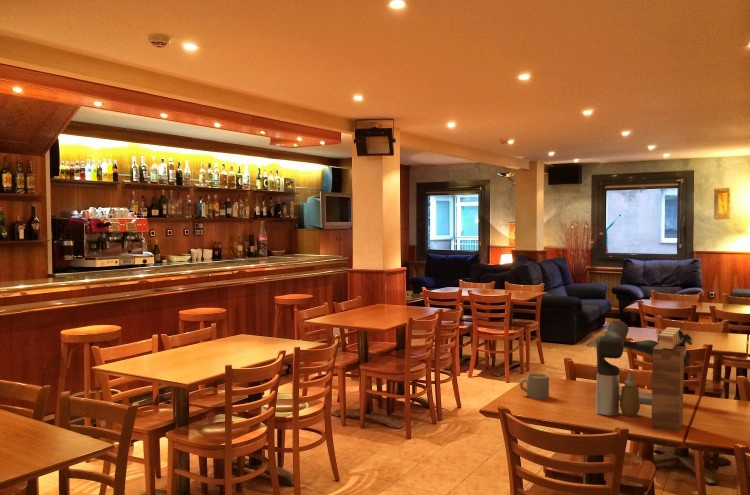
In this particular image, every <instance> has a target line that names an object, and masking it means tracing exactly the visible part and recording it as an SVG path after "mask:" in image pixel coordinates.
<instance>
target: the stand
mask: <svg viewBox="0 0 750 495" xmlns="http://www.w3.org/2000/svg"><path fill="white" fill-rule="evenodd" d="M684 371H685V369H684V346H675V347H674V348H673V349H672V350H668V349H667V348H659V344H657V345H656V346H655V347H654V348H653V356H652V374H651V375H652V376H651V377H652V378H651V381H652V383H651V386H652V388H651V393H652V405H651V429H658V430H663V431H668V430H669V432H675V431H677V432H676V433H680V431H681V429H682V427H683V425H682V424H684V421H683V419H684V414H683V413H684V374H685V373H684Z"/></svg>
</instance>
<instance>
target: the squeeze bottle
mask: <svg viewBox="0 0 750 495" xmlns="http://www.w3.org/2000/svg"><path fill="white" fill-rule="evenodd" d="M621 390H622V392H621V400H619V409H620V411H621V414H622V415H623V416H626V417H637V416H638V414H639V412H640V409H641V403H640V401H639V392H640V391H639V388H638V387H637V381H635V380H634V376H633V373H631V372H629V373H628V376H627V380H624V385H623V386H622V387H621Z"/></svg>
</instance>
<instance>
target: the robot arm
mask: <svg viewBox="0 0 750 495" xmlns="http://www.w3.org/2000/svg"><path fill="white" fill-rule="evenodd" d="M608 324H609V325H608V328H607V329H606V330H607V331H606V332H605V333H604V335H603V336H602V335H599V336H598V337H597V338H596V388H595V412H596V414H597V415H602V416H618V415H619V414H620V413H619V412H620V400H619V391H620V368H619V367H618V366H616V365H614V364H612V363H610V362H608V361H607V360H606V359H615V360H616V359H620V358H622V356H623V354H624V348H627V349H629V350H633V351H636V352H640V353H643V354H645V355H648V356H651V357H653V348H654V347H655V346H656V345H657V344H659V334H661V333H662V332H663V331H664V330H665V329H666V328H664V329H662V331H659V333H658V334H657V341H656V340H653V339H647V340H646V339H645V340H639V341H627V340H626V339H627V337H628V333H629V330H630V329H629V325H628V324H626V323H625V322H624V321H623V320H622V321H621V320H611V321H610V322H609V323H608ZM679 338H680V341H679V342H678V343H677V344H676V345H675V346H684V370H685V369H686V368H687V366H688V364H689V362H690V360H691V358H692V354H691V352H690V351H689V350H688V349H687V345H690V346H692V345H693V338H692V337H691V336H690V335H689V334H688V333H686V334H684V332H683V331H682V330H681V329H680V330H679ZM686 344H687V345H686Z"/></svg>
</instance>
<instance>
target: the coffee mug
mask: <svg viewBox="0 0 750 495" xmlns="http://www.w3.org/2000/svg"><path fill="white" fill-rule="evenodd" d="M524 382H526V387H524V385H523V383H524ZM519 387H520V389H521V390H522V391H524V392H525V393H526V396H527V398H529V397H530V399H533V400H546V398H547V399H549V398H548V397H549V396H550V376H549V375H548V374H545V373H540V372H539V373H537V372H536V373H535V372H534V373H533V372H532V373H528V374H527V377H524V378H521V380H520V381H519Z"/></svg>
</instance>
